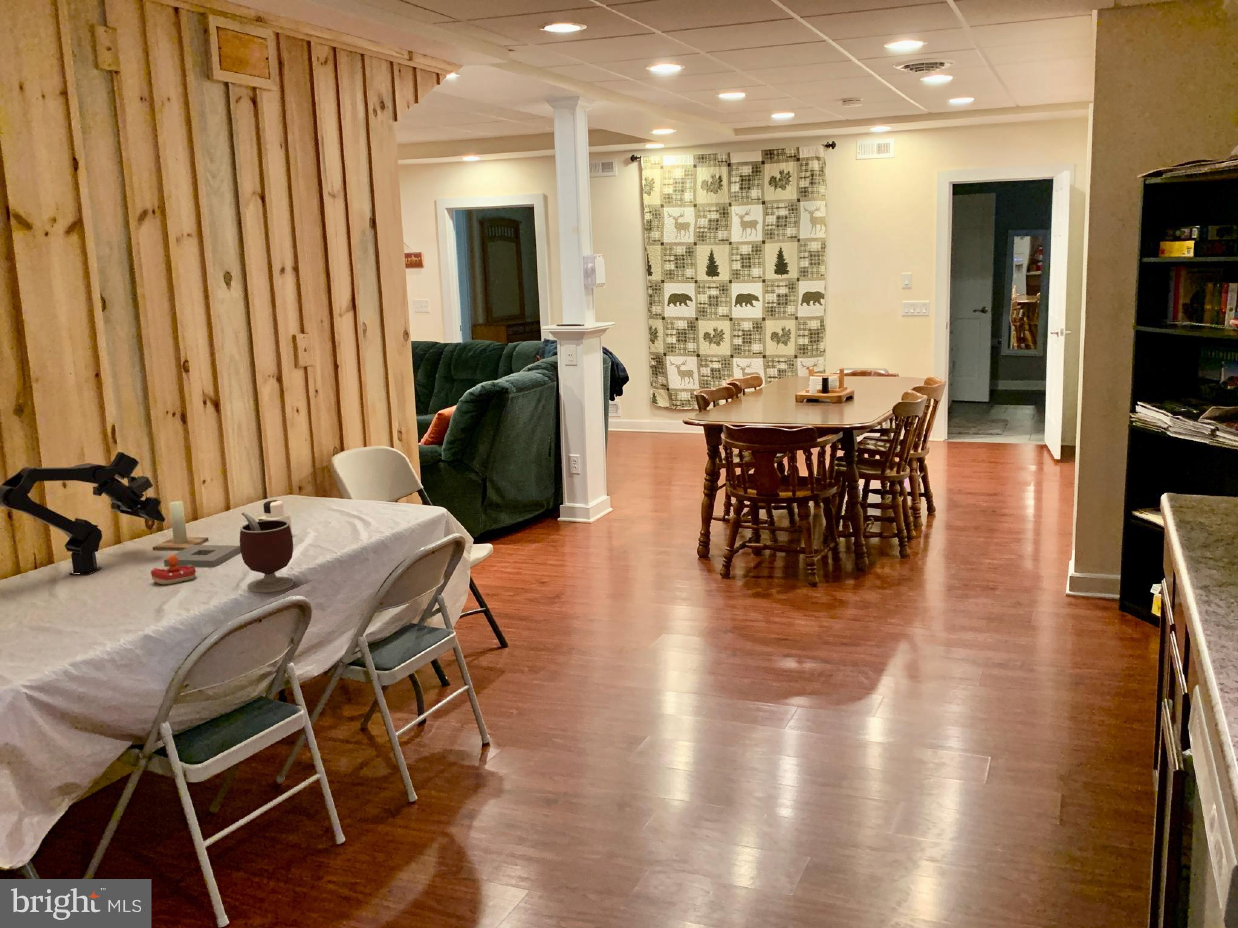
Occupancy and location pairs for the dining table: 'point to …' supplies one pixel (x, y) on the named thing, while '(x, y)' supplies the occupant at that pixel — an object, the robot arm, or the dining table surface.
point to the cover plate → (205, 555)
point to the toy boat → (173, 572)
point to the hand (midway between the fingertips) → (155, 519)
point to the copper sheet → (179, 547)
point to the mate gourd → (266, 552)
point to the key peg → (178, 522)
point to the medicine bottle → (275, 512)
